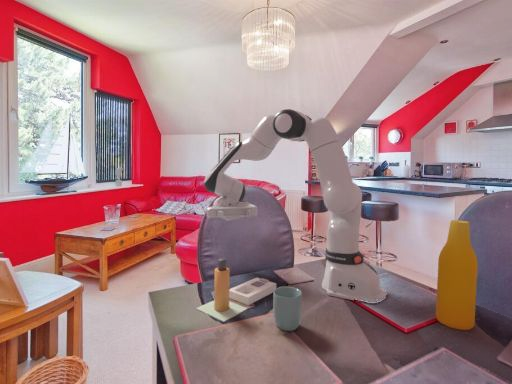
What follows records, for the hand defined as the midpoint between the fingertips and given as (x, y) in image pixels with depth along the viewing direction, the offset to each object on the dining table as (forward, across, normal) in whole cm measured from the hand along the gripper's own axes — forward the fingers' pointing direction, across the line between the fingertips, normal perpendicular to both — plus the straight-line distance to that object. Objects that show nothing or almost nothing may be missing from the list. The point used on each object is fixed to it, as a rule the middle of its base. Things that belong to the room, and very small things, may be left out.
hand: (236, 214), depth 110 cm
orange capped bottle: (+20, -10, +26) cm, 34 cm away
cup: (+34, +5, +27) cm, 44 cm away
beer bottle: (+46, +52, +27) cm, 75 cm away
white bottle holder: (+13, +2, +27) cm, 30 cm away
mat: (+20, -10, +27) cm, 35 cm away
